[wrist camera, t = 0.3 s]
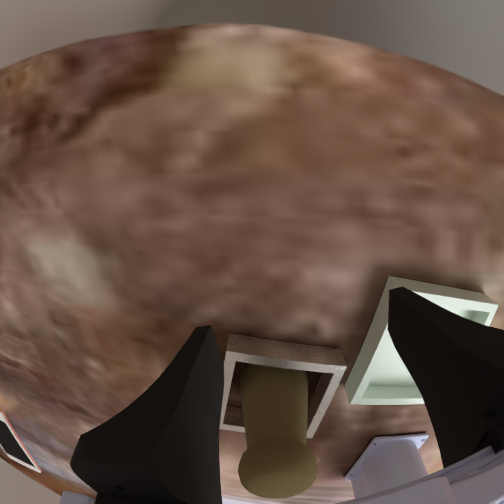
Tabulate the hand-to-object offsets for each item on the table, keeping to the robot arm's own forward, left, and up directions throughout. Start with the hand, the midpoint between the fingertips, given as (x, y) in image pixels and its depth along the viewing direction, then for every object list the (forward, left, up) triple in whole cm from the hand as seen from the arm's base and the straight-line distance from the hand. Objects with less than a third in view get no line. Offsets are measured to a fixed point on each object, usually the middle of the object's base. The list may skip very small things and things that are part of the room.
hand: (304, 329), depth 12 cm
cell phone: (-42, +38, -11) cm, 58 cm away
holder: (-12, -2, -10) cm, 16 cm away
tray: (-6, -14, -10) cm, 18 cm away
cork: (-12, -2, -11) cm, 16 cm away
